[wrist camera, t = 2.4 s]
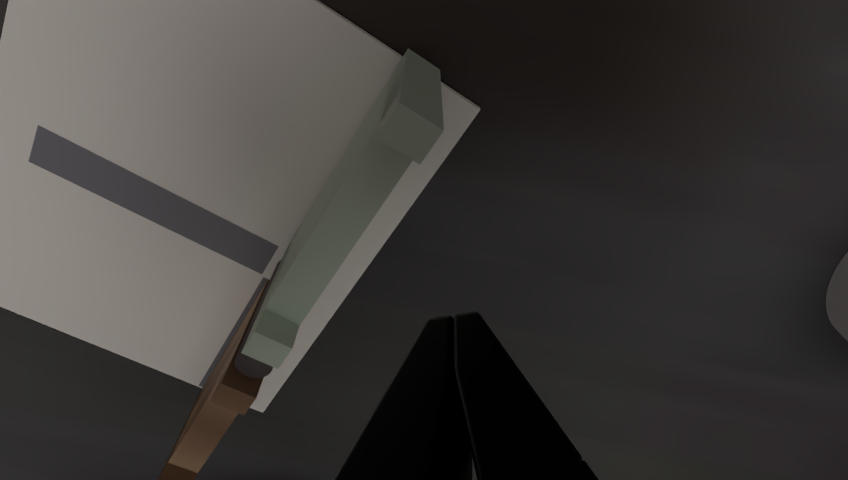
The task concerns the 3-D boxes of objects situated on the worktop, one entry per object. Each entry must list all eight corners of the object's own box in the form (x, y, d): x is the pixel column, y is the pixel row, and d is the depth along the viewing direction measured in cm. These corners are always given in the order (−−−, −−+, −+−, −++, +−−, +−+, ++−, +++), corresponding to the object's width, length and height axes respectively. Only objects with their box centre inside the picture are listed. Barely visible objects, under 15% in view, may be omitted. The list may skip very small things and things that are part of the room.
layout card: (264, 407, 26) (262, 413, 25) (-45, 281, 22) (-51, 286, 22) (479, 107, 18) (480, 109, 17) (51, -177, 14) (44, -179, 14)
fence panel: (313, 264, 21) (278, 368, 16) (285, 250, 20) (241, 352, 16) (440, 69, 17) (443, 130, 12) (407, 48, 16) (398, 102, 12)
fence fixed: (228, 391, 25) (178, 509, 20) (205, 382, 25) (148, 499, 20) (312, 262, 21) (275, 370, 16) (285, 249, 21) (239, 354, 16)
